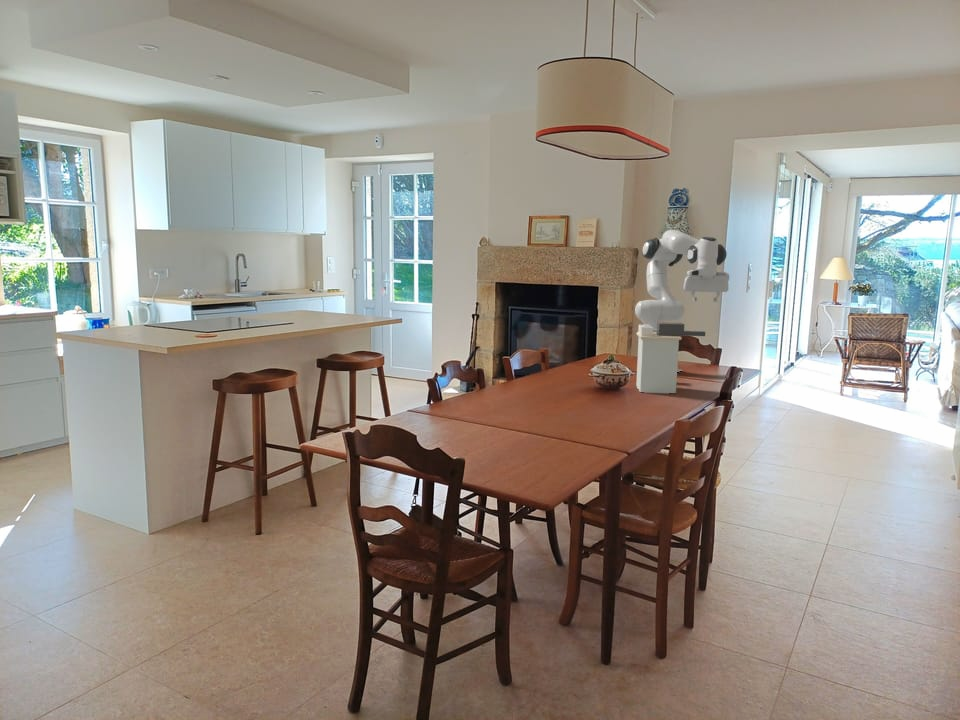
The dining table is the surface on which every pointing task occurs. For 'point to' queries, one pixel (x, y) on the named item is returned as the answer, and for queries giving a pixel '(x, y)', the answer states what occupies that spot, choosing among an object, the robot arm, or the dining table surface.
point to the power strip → (645, 330)
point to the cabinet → (657, 363)
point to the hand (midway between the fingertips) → (704, 301)
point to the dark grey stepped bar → (675, 330)
